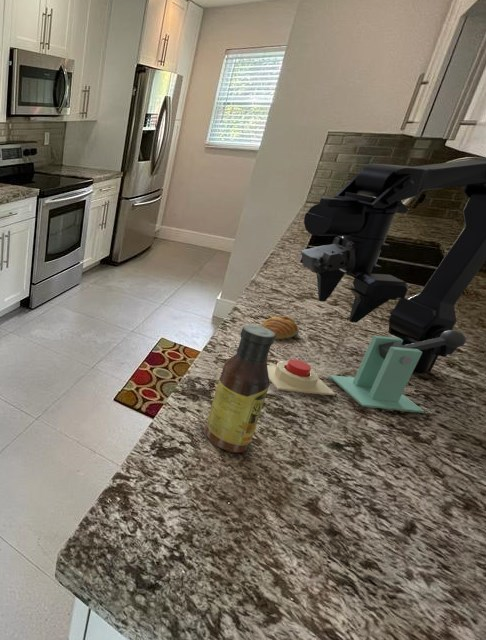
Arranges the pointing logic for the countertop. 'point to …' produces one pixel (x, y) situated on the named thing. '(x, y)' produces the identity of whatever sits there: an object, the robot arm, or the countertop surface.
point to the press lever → (429, 342)
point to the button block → (296, 380)
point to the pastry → (281, 326)
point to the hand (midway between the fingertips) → (336, 311)
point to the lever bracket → (383, 377)
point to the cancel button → (298, 368)
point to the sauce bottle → (241, 391)
